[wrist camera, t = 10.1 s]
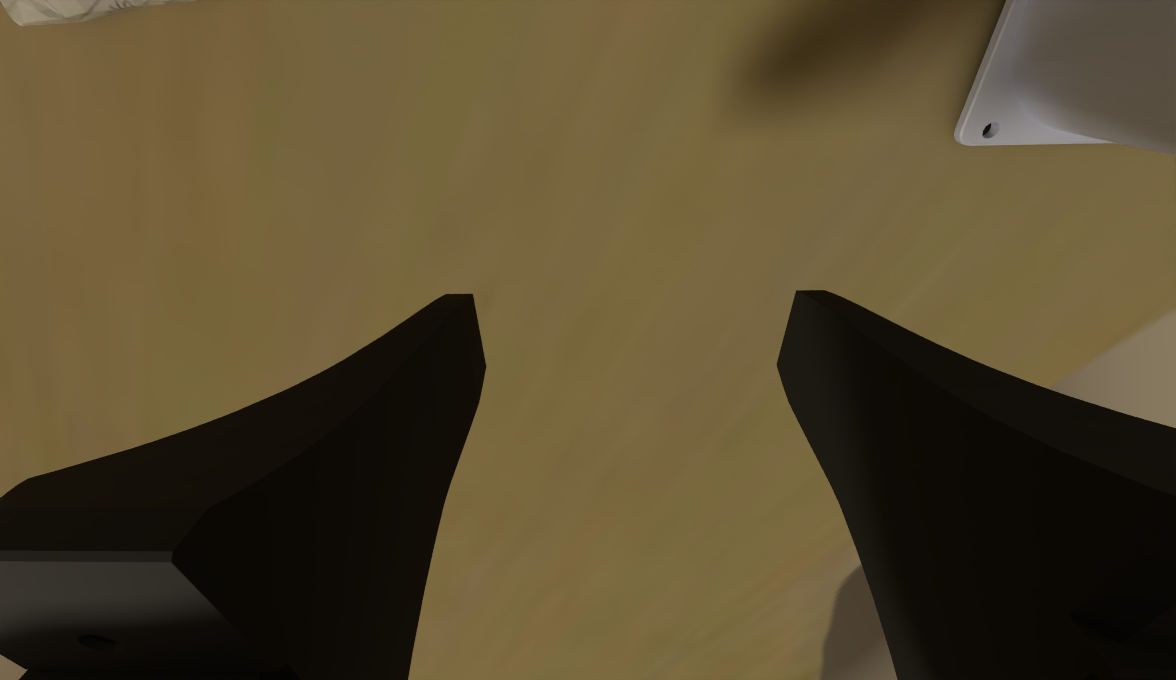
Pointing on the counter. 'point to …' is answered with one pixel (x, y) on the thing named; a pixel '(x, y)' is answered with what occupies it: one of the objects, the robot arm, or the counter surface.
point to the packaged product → (71, 9)
